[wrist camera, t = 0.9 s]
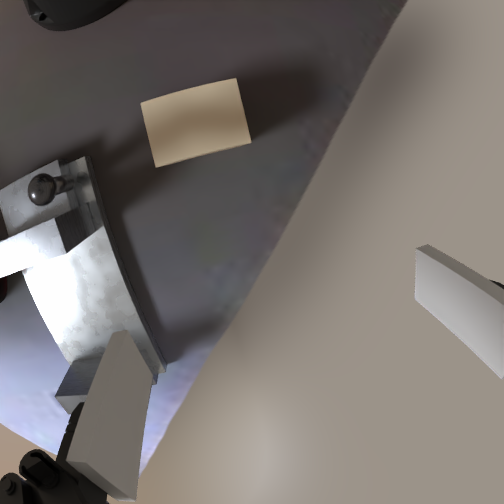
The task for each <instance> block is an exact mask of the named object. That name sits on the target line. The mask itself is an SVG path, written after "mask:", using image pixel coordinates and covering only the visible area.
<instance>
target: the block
mask: <svg viewBox="0 0 504 504" xmlns="http://www.w3.org/2000/svg"><path fill="white" fill-rule="evenodd" d="M141 107H142V112H143V117H144V121H145V125H146V130H147V134H148V138H149V142H150V146H151V150H152V155H153V158H154V162H155V166H156V167H160V166H165V165H170V164H173V163H177V162H180V161H184V160H188V159H191V158H195V157H199V156H202V155H206V154H210V153H214V152H218V151H222V150H226V149H231V148H235V147H239V146H243V145H246V144H249V143H251V139H250V134H249V130H248V126H247V122H246V117H245V113H244V109H243V105H242V101H241V97H240V93H239V88H238V84H237V80H236V78H234V79H229V80H224V81H219V82H215V83H210V84H206V85H202V86H198V87H194V88H190V89H186V90H182V91H179V92H175V93H171V94H168V95H165V96H161V97H158V98H155V99H152V100H148V101H145V102H142V103H141Z"/></svg>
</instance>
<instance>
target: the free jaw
mask: <svg viewBox="0 0 504 504" xmlns="http://www.w3.org/2000/svg"><path fill="white" fill-rule="evenodd" d="M74 185H75V180H74V178H73V176H72V175H71V174H70V171H69V166H68V162H67V159H60V160H56V161H54V162H52V163H50V164H48V165H46V166H44V167H42V168H40V169H38V170H36V171H34V172H32V173H30V174H28V175H26V176H24V177H22V178H21V179H19V180H17V181H15V182H13V183H12V184H10V185H8V186H6V187H5V188H3V189H1V190H0V206H1V209H2V213H3V216H4V220H5V223H6V226H7V229H8V233H9V236H8V237H6V238H5V239H3V240H1V241H0V278H1V277H3V276H6V275H9V274H11V273H14V272H17V271H19V270H22V269H25V268H28V267H30V266H33V265H36V264H39V263H42V262H44V261H47V260H50V259H53V258H56V257H59V256H62V255H65V254H67V253H68V252H70V251H71V250H72V249H73V248H75V247H76V246H77V245H79V244H80V243H81V242H83V241H84V240H85V239H86V238H88V237H89V236H90V235H92V234H93V233H95V232H96V229H95V226H94V223H93V220H92V217H91V214H90V210H89V207H88V204H87V203H86V204H83V205H80V206H79V204H78V200H77V197H76V193H75V190H74Z"/></svg>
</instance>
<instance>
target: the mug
mask: <svg viewBox="0 0 504 504" xmlns="http://www.w3.org/2000/svg"><path fill="white" fill-rule="evenodd" d="M6 292H7V277H6V276H3V277H1V278H0V303H1V302H2V301H3V300H4V298H5V296H6Z"/></svg>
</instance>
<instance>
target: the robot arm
mask: <svg viewBox="0 0 504 504" xmlns="http://www.w3.org/2000/svg"><path fill="white" fill-rule="evenodd" d="M23 1H24V4H25V6H26V9H27V11H28V13H29V15H30V17H31V18H32V19H33V20H34V21H35V22H36V23H38V24H39V25H41V26H42V27H44V28H46V29H48V30H53V31H66V30H72V29H76V28H79V27H82V26H85V25H87V24H90V23H92V22H94V21H96V20H98V19H100V18H101V17H103V16H105V15H107V14H108V13H110V12H111V11H113V10H114V9H115V8H117V7H118V6H119V5H121V4H122V3H123V2H124V1H125V0H23ZM415 300H416V301H417V302H419V303H420V304H421V305H422V306H423V307H424V308H426V309H427V310H428V311H429V312H430V313H431V314H432V315H434V316H435V317H436V318H437V319H438V320H439V321H440V322H442V323H443V324H444V325H445V326H446V327H447V328H448V329H449V330H450V331H452V332H453V333H454V334H455V335H456V336H457V337H458V338H459V339H460V340H461V341H462V342H463V343H465V344H466V345H467V346H468V347H469V348H470V349H471V350H472V351H473V352H474V353H475V354H476V355H477V356H478V357H479V358H481V360H482V361H484V362H485V363H486V364H487V365H488V366H489V367H490V368H491V369H492V370H493V371H494V372H495V373H496V374H497V375H498V376H499V377H500V378H501V379H503V378H504V285H502V284H501V283H499V282H495V281H492V280H488V279H487V278H485V277H483V276H482V275H480V274H478V273H477V272H475V271H473V270H472V269H470V268H469V267H467V266H465V265H464V264H462V263H460V262H458V261H457V260H455V259H453V258H451V257H450V256H448V255H446V254H445V253H443V252H441V251H439V250H437V249H435V248H434V247H432V246H430V245H428V244H427V245H424V246H421V247H418V248H416V277H415ZM152 379H153V375H152V373H151V371H150V370H149V368H148V366H147V364H146V363H145V361H144V359H143V357H142V355H141V354H140V352H139V350H138V348H137V346H136V344H135V343H134V341H133V339H132V337H131V335H130V333H129V331H128V329H127V330H123V331H118V332H113V333H112V335H111V338H110V340H109V342H108V345H107V347H106V349H105V352H104V354H103V357H102V359H101V362H100V364H99V366H98V369H97V371H96V374H95V377H94V379H93V382H92V384H91V387H90V390H89V392H88V395H87V398H86V400H85V402H80V403H79V404H78V405H77V406H76V408H75V409H74V410H73V412H72V414H71V417H70V419H69V422H68V423H69V425H67V428H66V431H65V432H66V433H64V436H63V439H62V442H61V445H60V448H59V451H58V455H57V458H56V461H54V460H53V459H52V458H51V457H50V456H49V455H48V454H46V453H45V452H44V451H42V450H40V449H34V450H32V451H29V452H28V453H27V454H25V455H24V457H23V458H22V460H21V461H20V465H19V473H20V474H21V475H22V476H23V477H24V478H26V479H27V480H23V479H22V478H21V477H19V476H18V475H17V474H15V473H8V474H6V475H4V476H3V478H2V479H1V480H0V504H109V503H108V502H107V501H106V500H107V494H108V495H110V496H111V497H113V498H114V499H116V500H117V501H136V496H137V485H138V476H139V467H140V458H141V450H142V442H143V435H144V428H145V421H146V415H147V408H148V402H149V396H150V390H151V384H152Z"/></svg>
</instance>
